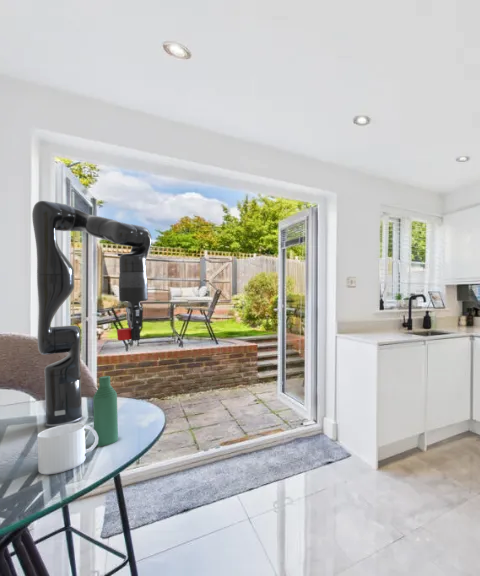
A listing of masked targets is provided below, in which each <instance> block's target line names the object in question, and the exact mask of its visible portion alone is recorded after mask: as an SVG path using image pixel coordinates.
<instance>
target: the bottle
mask: <svg viewBox="0 0 480 576" xmlns="http://www.w3.org/2000/svg"><path fill="white" fill-rule="evenodd" d="M98 386H99V387H97V389H96V392H94V394H93V397H92V409H93V410H92V412H93V415H92V417H93V429H94V430H95V431H96V432H97V434H98V437H99V439H98V444H97V445H96V447H104V446H108V445H112V444H114V443H116V442H118V440H119V422H118V421H119V420H118V418H119V417H118V393H117V391H116V390H115V389H114V387H113V386H112V385H111V376H110V375H104V376H99V377H98ZM94 442H95V437H94V436H93V443H94Z"/></svg>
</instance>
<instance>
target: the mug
mask: <svg viewBox="0 0 480 576" xmlns="http://www.w3.org/2000/svg"><path fill="white" fill-rule="evenodd" d="M86 430H89V431H90V432H91V433H92V435H93V438H94V437H95V442H94V441H93V443H92V444H91V446H89V448H86ZM98 439H99V437H98V434H97V432H96V431H95V430H94V427H92V426H90V425H85V424H84V423H82V422H75V423H71V424H65V425H60V426H56V427H48V428H46V429H44V430H42V431H40V432H39V433H38V434H37V467H38V470H37V471H38V473H39V474H41V475H54V474H60V473H63V472H67V471H70V470H72V469H75V468H77V467H79V466H81V465H82V464H84V462H86V457H87V456H86V454H87V453H91V452H92V451H93V450H94V449H95V448H96V447H97V446H96V445H97V444H98Z"/></svg>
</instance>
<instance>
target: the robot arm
mask: <svg viewBox="0 0 480 576" xmlns="http://www.w3.org/2000/svg"><path fill="white" fill-rule="evenodd" d="M31 213H32V214H31V217H32V226H33V232H34V239H35V249H36V283H37V284H36V287H37V301H38V318H37V319H38V323H37V349H38V352H39V354H40V355H42V356H43V355H45V356H48V355H56V354H65V353H67V355H66V356H65V357H63V358H62V359H59V360H58V361H55V362H52V363H49V364H47V365H46V366H45V367H44V400H45V402H44V403H45V427H47V428H52V427H56V426H60V425H65V424H71V423H78V422H79V421H81V420H82V419H83V403H82V402H83V401H82V369H81V367H82V366H81V345H82V344H81V342H82V334H81V329H80V327H79V326H78V325H75V324H74V325H60V326H59V325H58V326H52V322H53V319H54V317H55V315H56V314H57V312H58V310H59V309H60V307H61V306H63V304H64V303H65V301H66V300H67V299H68V298H69V297H70V296H71V294H72V292H73V291H74V289H75V269H74V267H73V265H72V263H71V261H70V260H69V259H68V257H67V256H66V255H65V254H64V252H63V251H62V249H61V248H60V246H59V244H58V241H57V236H56V231H58V232H84V233H87V234H88V235H90V236H91V237H94V238H97V239H101V240H105V241H108V242H111V243H113V244H116V245H120V246H123V247H131V249H130V252H128V253H122V254H121V255H120V256H119V259H118V260H119V261H118V262H119V263H118V264H119V273H118V274H119V276H118V300H119V302H123V303H124V302H126V303H127V306H125V313H126V321H127V323H126V324H127V328H131V339H130V340H131V341H133V342H134V341H140V340H141V328H142V326H143V322H142V321H143V312H144V311H143V306H141V302H146V301H148V300H149V291H148V275H147V258H148V255H149V251H150V248H151V244H152V235H151V231H150V230H149V229H148V228H147V227H146V226H143V225H138V224H130V223H126V222H122V221H121V222H120V221H118V220H116V219H112V218H107V217H103V216H98V215H93V214H90V213H87V212H84V211H82V210H81V209H78V208H77V207H75V206H71V205H69V204H66V203H65V204H64V203H59V202H53V201H47V200H39V201H37V202H36V203H35V204H34V206H33V208H32V212H31Z"/></svg>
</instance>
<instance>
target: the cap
mask: <svg viewBox="0 0 480 576" xmlns="http://www.w3.org/2000/svg"><path fill="white" fill-rule="evenodd" d="M116 335H117V340H118V341H128V340H131V328H129V327H123V328H118V329H116Z"/></svg>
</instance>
